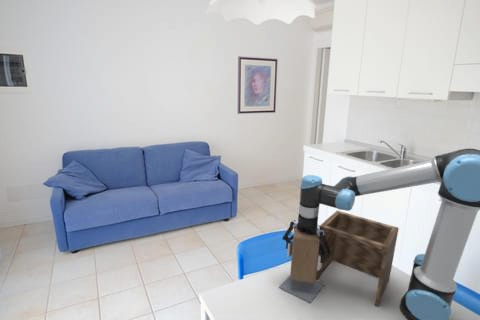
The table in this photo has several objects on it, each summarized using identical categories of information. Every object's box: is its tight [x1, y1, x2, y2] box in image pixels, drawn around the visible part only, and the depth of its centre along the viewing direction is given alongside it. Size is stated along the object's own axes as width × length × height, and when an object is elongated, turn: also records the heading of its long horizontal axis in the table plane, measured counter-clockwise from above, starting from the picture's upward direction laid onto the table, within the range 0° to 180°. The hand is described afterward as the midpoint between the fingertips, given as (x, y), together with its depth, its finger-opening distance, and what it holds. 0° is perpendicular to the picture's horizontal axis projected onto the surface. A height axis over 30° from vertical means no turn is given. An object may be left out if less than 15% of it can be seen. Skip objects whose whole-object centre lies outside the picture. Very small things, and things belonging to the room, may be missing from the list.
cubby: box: [316, 210, 400, 308], centre depth 123 cm, size 26×20×26 cm
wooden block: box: [289, 226, 320, 283], centre depth 118 cm, size 10×10×20 cm
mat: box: [278, 275, 325, 304], centre depth 122 cm, size 14×14×1 cm
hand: (303, 262), depth 119 cm, fingers open, 13 cm apart
